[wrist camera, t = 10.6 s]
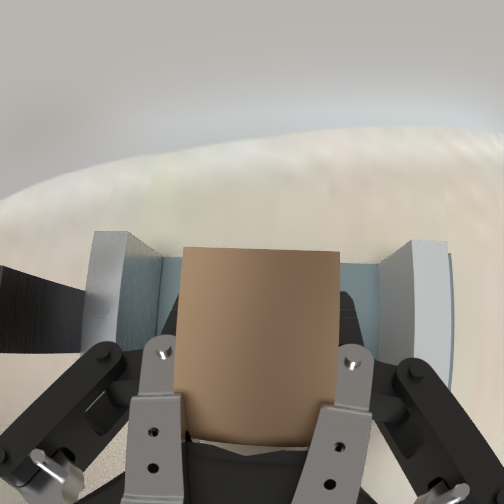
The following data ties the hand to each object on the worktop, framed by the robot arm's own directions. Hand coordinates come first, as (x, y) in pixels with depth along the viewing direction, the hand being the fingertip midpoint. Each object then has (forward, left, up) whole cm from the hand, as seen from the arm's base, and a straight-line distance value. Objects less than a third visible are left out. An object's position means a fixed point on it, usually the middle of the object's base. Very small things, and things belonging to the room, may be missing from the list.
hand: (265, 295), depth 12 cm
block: (+1, -2, -4) cm, 5 cm away
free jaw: (-7, -5, -5) cm, 10 cm away
